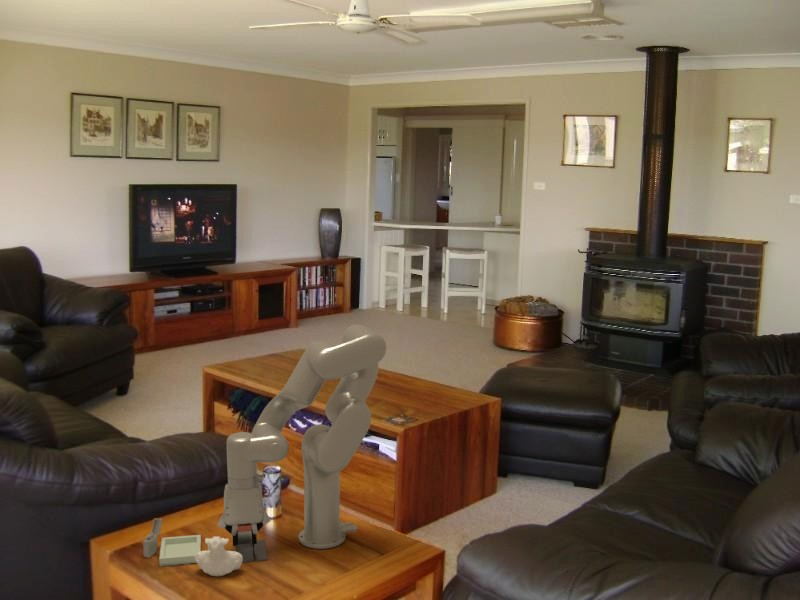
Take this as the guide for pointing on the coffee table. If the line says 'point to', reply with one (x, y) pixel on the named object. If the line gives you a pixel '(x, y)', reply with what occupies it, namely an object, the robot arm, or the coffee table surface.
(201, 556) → the white rounded irregular piece
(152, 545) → the lighter
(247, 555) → the bracket
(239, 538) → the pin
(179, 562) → the tray
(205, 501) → the coffee table surface
